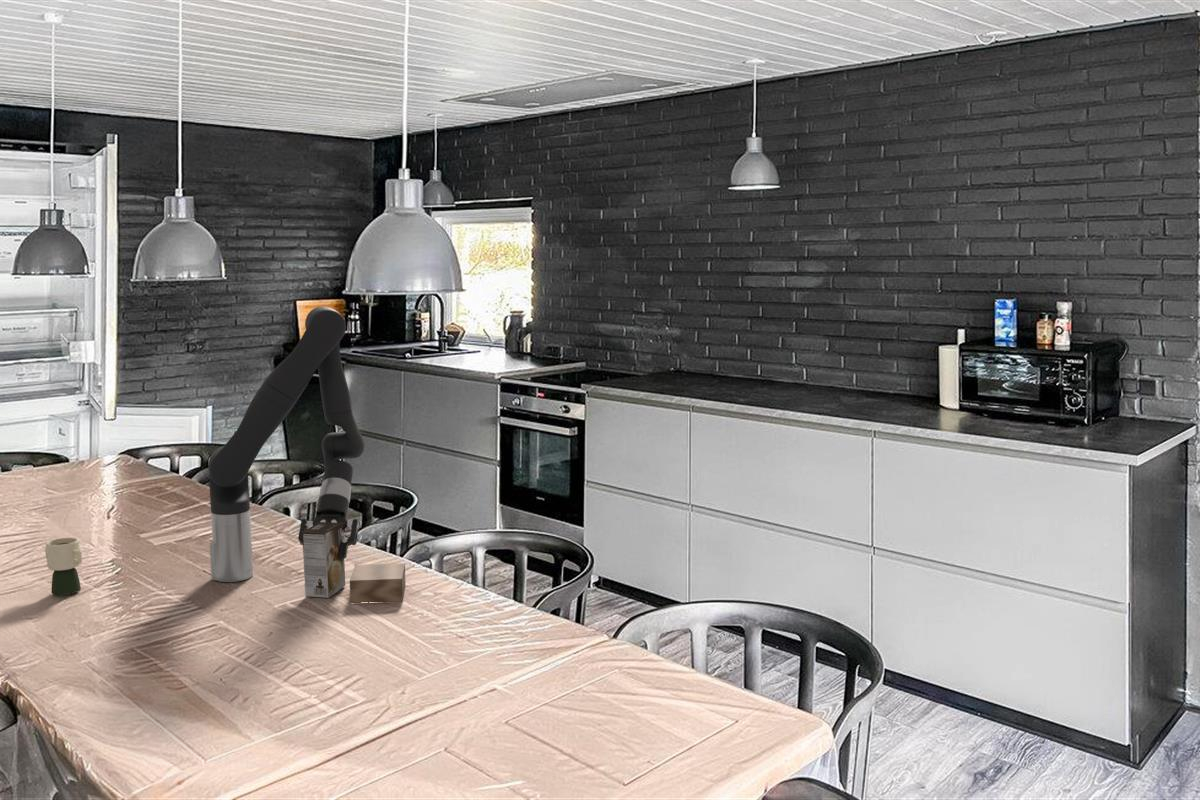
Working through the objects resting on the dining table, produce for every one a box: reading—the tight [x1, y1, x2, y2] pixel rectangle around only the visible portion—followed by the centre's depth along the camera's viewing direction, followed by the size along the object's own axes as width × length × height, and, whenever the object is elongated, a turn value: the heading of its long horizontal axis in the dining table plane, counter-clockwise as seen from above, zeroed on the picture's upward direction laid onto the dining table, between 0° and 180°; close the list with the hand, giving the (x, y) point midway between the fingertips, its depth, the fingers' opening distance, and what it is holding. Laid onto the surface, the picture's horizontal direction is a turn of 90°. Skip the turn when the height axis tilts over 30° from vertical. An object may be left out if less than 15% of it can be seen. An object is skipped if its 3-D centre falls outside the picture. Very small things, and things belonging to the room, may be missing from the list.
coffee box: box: [302, 522, 346, 599], centre depth 250 cm, size 9×6×16 cm
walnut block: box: [349, 563, 406, 603], centre depth 249 cm, size 12×12×6 cm
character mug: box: [44, 536, 83, 596], centre depth 249 cm, size 11×7×13 cm, turn 70°
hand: (324, 559), depth 250 cm, fingers closed on coffee box, 7 cm apart
